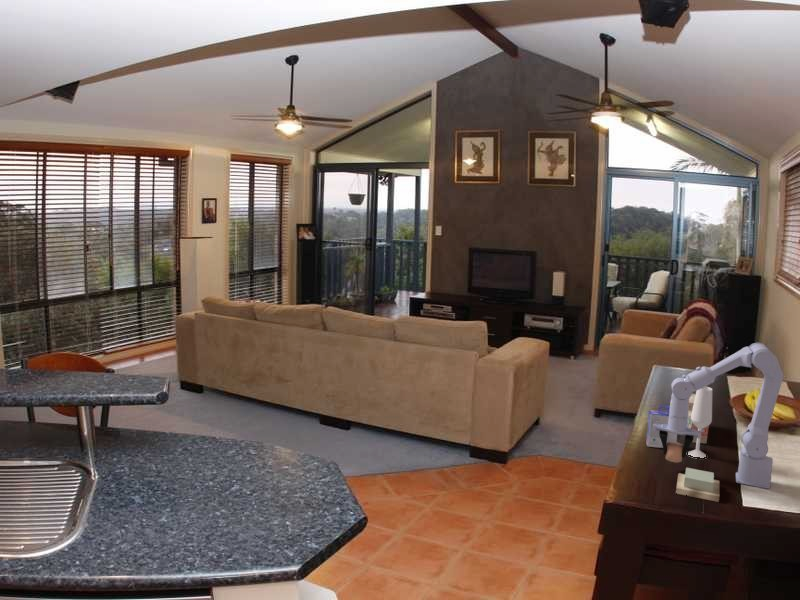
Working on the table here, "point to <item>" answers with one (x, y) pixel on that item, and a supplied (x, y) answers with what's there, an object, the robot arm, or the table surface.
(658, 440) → the ink cartridge box
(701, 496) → the birch slab
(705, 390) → the champagne flute
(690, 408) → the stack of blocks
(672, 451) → the terracotta cylinder
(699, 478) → the green block
